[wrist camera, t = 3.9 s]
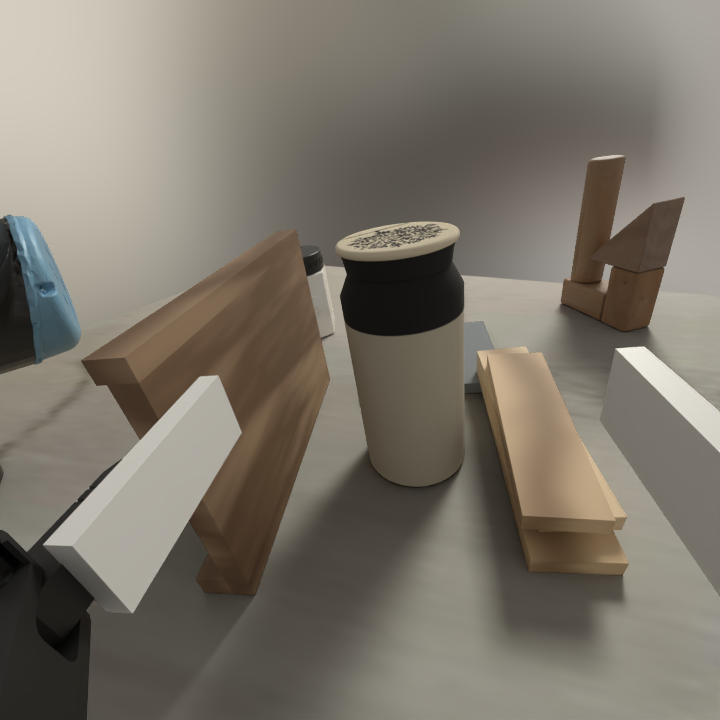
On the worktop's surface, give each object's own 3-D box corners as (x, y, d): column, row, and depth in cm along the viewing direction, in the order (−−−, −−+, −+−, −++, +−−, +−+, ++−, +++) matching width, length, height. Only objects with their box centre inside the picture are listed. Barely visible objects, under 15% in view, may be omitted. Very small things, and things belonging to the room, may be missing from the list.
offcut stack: (521, 571, 21) (528, 535, 19) (472, 370, 38) (473, 338, 35) (632, 575, 20) (652, 537, 18) (532, 366, 37) (537, 333, 34)
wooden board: (204, 592, 23) (49, 363, 14) (301, 380, 43) (261, 233, 35) (255, 595, 22) (124, 357, 14) (330, 379, 43) (296, 229, 34)
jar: (294, 350, 51) (271, 266, 45) (274, 333, 57) (251, 257, 51) (348, 328, 54) (333, 248, 48) (323, 314, 61) (308, 242, 55)
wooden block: (622, 333, 42) (665, 158, 33) (559, 303, 51) (579, 160, 42) (650, 326, 42) (700, 151, 33) (582, 297, 52) (607, 155, 43)
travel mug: (484, 468, 28) (493, 230, 19) (390, 504, 27) (352, 263, 18) (435, 411, 35) (424, 215, 26) (358, 437, 33) (318, 238, 24)
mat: (368, 397, 38) (366, 388, 38) (378, 337, 50) (377, 329, 50) (506, 391, 36) (507, 381, 35) (483, 329, 48) (483, 321, 47)
